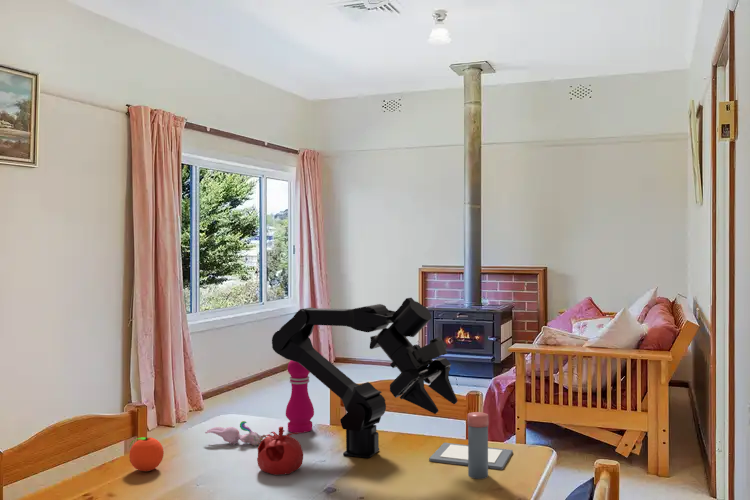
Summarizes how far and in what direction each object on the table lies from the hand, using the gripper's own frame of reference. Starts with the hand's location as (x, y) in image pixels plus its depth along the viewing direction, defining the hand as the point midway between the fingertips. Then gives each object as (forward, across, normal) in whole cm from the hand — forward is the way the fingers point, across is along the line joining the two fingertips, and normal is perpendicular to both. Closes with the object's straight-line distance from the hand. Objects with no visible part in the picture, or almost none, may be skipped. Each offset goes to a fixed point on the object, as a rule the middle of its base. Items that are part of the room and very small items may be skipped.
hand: (446, 407), depth 142 cm
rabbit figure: (-27, -9, +46) cm, 54 cm away
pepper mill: (-23, +8, +41) cm, 48 cm away
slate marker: (+14, 0, +4) cm, 15 cm away
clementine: (-30, -32, +48) cm, 65 cm away
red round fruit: (-12, -18, +31) cm, 38 cm away
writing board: (+10, +10, +8) cm, 17 cm away
